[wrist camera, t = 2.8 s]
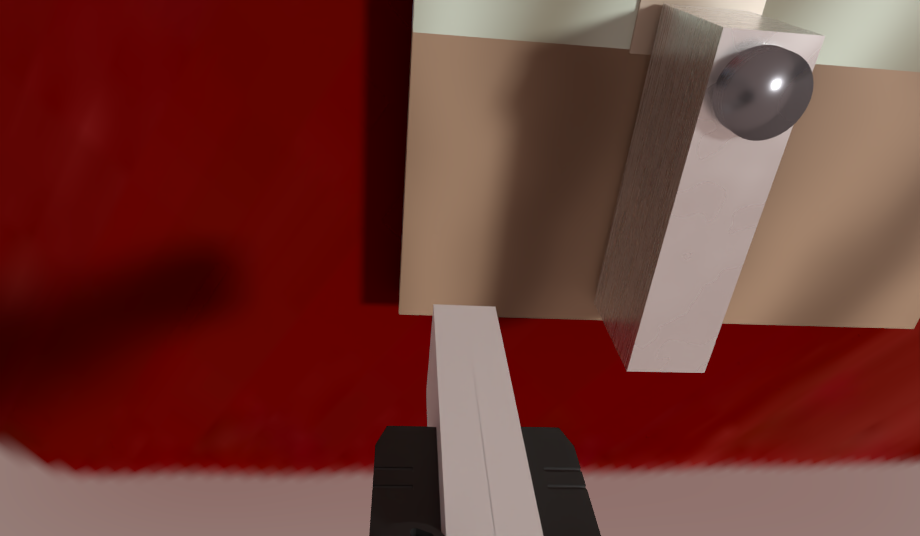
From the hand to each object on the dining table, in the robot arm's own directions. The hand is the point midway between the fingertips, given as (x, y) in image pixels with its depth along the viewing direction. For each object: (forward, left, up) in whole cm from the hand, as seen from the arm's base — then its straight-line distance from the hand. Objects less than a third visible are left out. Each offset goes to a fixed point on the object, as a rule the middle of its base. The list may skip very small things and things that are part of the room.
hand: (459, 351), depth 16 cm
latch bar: (+7, +2, -7) cm, 10 cm away
